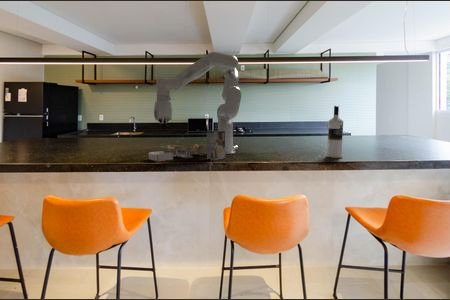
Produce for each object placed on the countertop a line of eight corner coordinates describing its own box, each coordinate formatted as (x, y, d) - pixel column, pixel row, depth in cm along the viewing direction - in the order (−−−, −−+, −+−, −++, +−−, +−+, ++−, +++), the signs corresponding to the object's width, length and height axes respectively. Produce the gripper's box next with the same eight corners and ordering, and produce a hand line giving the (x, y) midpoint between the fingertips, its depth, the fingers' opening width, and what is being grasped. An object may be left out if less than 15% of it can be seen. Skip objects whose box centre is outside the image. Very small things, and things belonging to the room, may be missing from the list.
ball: (196, 149, 193) (196, 144, 193) (199, 150, 190) (200, 144, 190) (191, 149, 190) (192, 143, 190) (194, 150, 188) (195, 144, 188)
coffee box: (217, 157, 181) (217, 130, 179) (225, 158, 177) (225, 130, 175) (206, 159, 174) (206, 131, 172) (214, 160, 170) (214, 131, 168)
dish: (163, 157, 181) (163, 150, 181) (173, 159, 174) (173, 152, 173) (148, 159, 175) (148, 152, 174) (157, 161, 167) (157, 154, 167)
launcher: (188, 150, 200) (189, 144, 200) (202, 152, 190) (203, 146, 190) (160, 147, 186) (161, 140, 186) (173, 149, 175) (174, 142, 175)
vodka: (332, 155, 187) (334, 105, 183) (345, 157, 180) (348, 105, 175) (322, 156, 182) (324, 105, 178) (335, 158, 175) (338, 105, 170)
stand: (190, 152, 200) (189, 146, 200) (205, 155, 188) (205, 149, 188) (162, 156, 187) (161, 149, 186) (177, 159, 174) (177, 152, 174)
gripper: (170, 99, 189) (170, 129, 192) (148, 98, 179) (149, 130, 182) (177, 99, 184) (177, 130, 186) (155, 98, 174) (155, 130, 176)
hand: (163, 130), depth 184 cm, fingers closed
